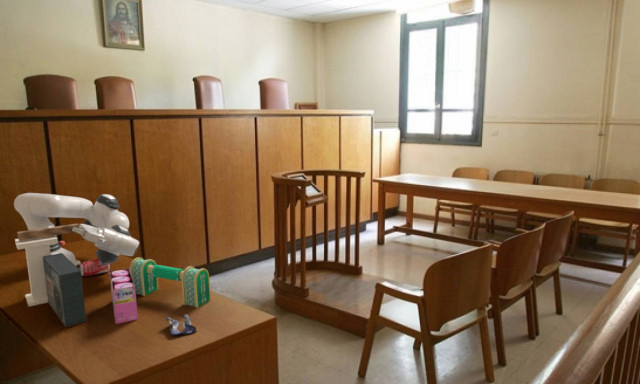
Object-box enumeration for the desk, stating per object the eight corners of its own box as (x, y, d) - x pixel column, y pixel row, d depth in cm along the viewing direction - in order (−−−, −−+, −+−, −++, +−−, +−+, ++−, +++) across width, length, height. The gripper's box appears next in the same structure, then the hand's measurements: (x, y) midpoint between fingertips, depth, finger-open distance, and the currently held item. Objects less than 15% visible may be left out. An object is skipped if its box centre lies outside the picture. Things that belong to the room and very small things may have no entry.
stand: (60, 289, 199) (53, 232, 195) (64, 298, 190) (57, 238, 185) (22, 297, 191) (14, 238, 186) (25, 307, 182) (17, 245, 177)
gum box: (111, 300, 187) (108, 269, 185) (132, 297, 191) (129, 266, 188) (115, 324, 166) (112, 289, 164) (138, 319, 170) (135, 285, 168)
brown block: (78, 230, 196) (77, 223, 196) (79, 231, 194) (79, 224, 194) (18, 239, 183) (17, 232, 183) (19, 240, 181) (18, 233, 180)
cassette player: (48, 302, 186) (42, 256, 182) (67, 298, 191) (61, 252, 187) (65, 327, 165) (59, 275, 161) (86, 321, 169) (80, 270, 166)
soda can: (105, 266, 226) (79, 272, 218) (105, 254, 223) (79, 260, 215) (110, 274, 221) (83, 280, 213) (110, 262, 218) (83, 268, 210)
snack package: (201, 322, 168) (169, 322, 168) (200, 307, 166) (167, 307, 165) (194, 343, 157) (160, 343, 156) (193, 327, 155) (158, 328, 154)
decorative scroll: (210, 300, 187) (208, 265, 184) (197, 308, 179) (194, 272, 177) (146, 287, 202) (143, 254, 199) (131, 293, 194) (128, 260, 192)
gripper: (105, 250, 193) (72, 239, 185) (95, 239, 209) (64, 229, 201) (112, 236, 194) (79, 225, 186) (101, 227, 210) (70, 216, 202)
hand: (71, 227), depth 193 cm, fingers closed on brown block, 3 cm apart
